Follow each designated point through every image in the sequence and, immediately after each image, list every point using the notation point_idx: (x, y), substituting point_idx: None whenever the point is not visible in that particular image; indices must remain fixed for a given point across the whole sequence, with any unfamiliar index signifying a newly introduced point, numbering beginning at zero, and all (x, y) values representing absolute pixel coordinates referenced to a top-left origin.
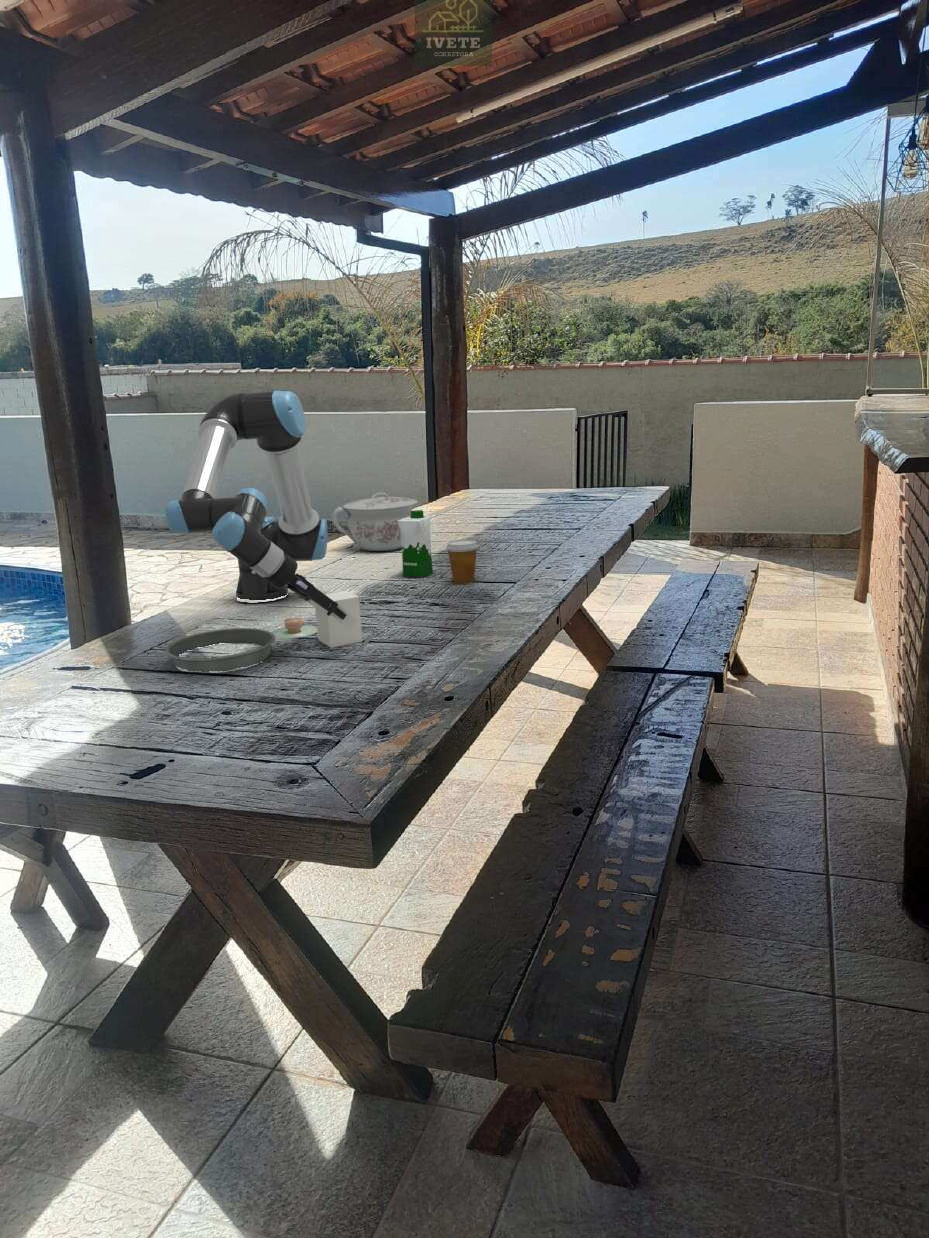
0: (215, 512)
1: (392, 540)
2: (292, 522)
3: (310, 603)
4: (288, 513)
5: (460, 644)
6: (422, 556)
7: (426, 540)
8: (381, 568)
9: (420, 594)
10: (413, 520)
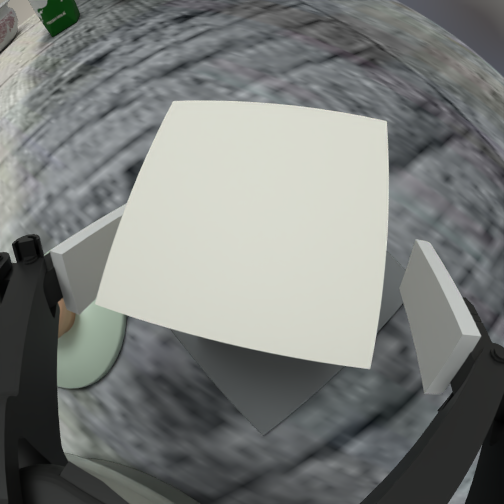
0: None
1: (6, 35)
2: None
3: (84, 308)
4: None
5: (477, 110)
6: (67, 1)
7: None
8: (18, 54)
9: (120, 25)
10: None
